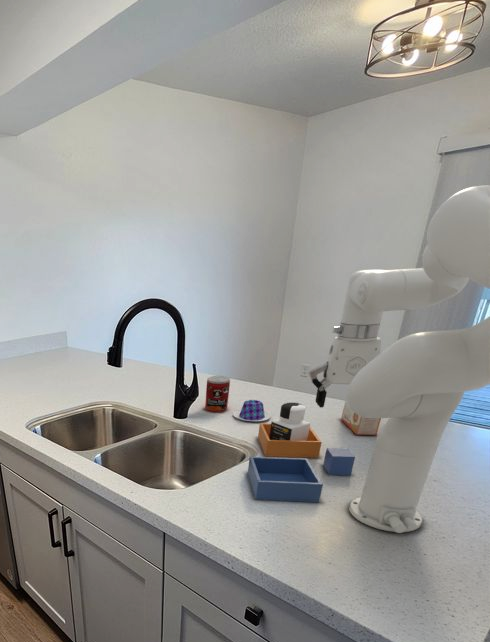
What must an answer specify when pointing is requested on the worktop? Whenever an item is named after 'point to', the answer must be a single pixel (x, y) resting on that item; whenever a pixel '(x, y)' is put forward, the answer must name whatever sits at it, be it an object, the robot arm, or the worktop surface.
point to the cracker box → (359, 421)
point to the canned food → (217, 393)
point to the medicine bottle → (290, 424)
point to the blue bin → (284, 479)
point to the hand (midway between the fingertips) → (341, 405)
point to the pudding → (252, 411)
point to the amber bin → (289, 444)
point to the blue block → (338, 461)
